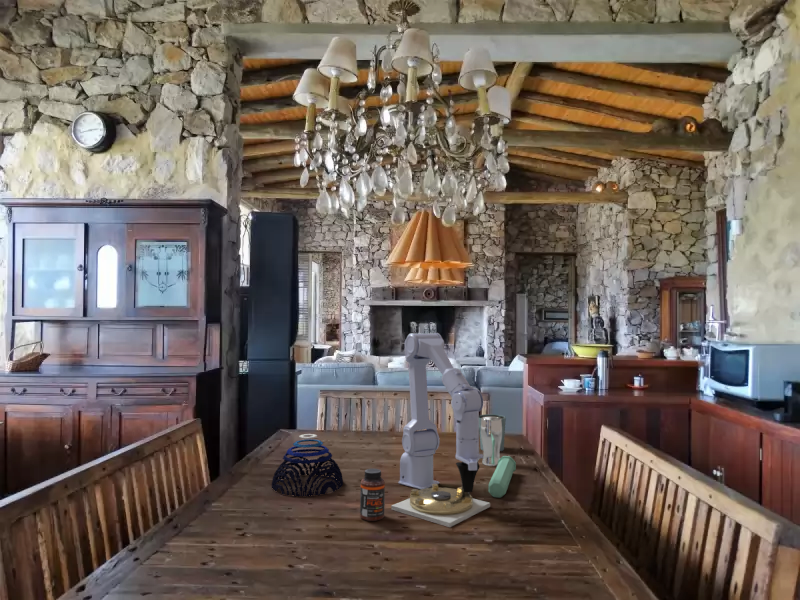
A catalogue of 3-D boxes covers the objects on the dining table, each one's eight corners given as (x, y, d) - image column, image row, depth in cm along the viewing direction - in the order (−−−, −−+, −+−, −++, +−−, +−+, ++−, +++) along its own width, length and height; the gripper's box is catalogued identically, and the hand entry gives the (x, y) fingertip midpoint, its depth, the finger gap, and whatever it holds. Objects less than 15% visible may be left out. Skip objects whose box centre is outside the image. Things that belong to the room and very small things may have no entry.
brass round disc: (397, 505, 137) (397, 482, 137) (432, 489, 150) (432, 468, 150) (451, 519, 127) (451, 494, 128) (484, 501, 140) (483, 478, 140)
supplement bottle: (366, 523, 128) (366, 475, 129) (356, 515, 133) (356, 469, 134) (388, 519, 131) (388, 472, 131) (378, 511, 136) (378, 465, 137)
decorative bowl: (357, 485, 158) (357, 435, 158) (300, 502, 143) (301, 447, 144) (314, 471, 172) (314, 425, 172) (259, 486, 157) (259, 436, 157)
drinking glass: (510, 448, 202) (509, 415, 202) (499, 454, 193) (499, 420, 193) (484, 444, 207) (484, 413, 207) (473, 450, 198) (473, 417, 199)
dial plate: (391, 509, 138) (391, 505, 138) (433, 492, 151) (433, 488, 151) (449, 527, 126) (449, 522, 126) (490, 506, 140) (490, 502, 140)
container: (502, 477, 146) (511, 452, 169) (481, 483, 147) (494, 458, 171) (510, 498, 145) (519, 471, 169) (490, 504, 146) (501, 476, 170)
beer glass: (478, 465, 179) (478, 419, 179) (483, 459, 185) (483, 415, 186) (499, 467, 176) (499, 420, 177) (504, 462, 183) (503, 417, 183)
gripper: (489, 443, 131) (489, 500, 131) (477, 431, 146) (477, 482, 145) (460, 444, 131) (460, 501, 130) (451, 431, 145) (451, 483, 145)
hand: (467, 491), depth 138 cm, fingers closed
